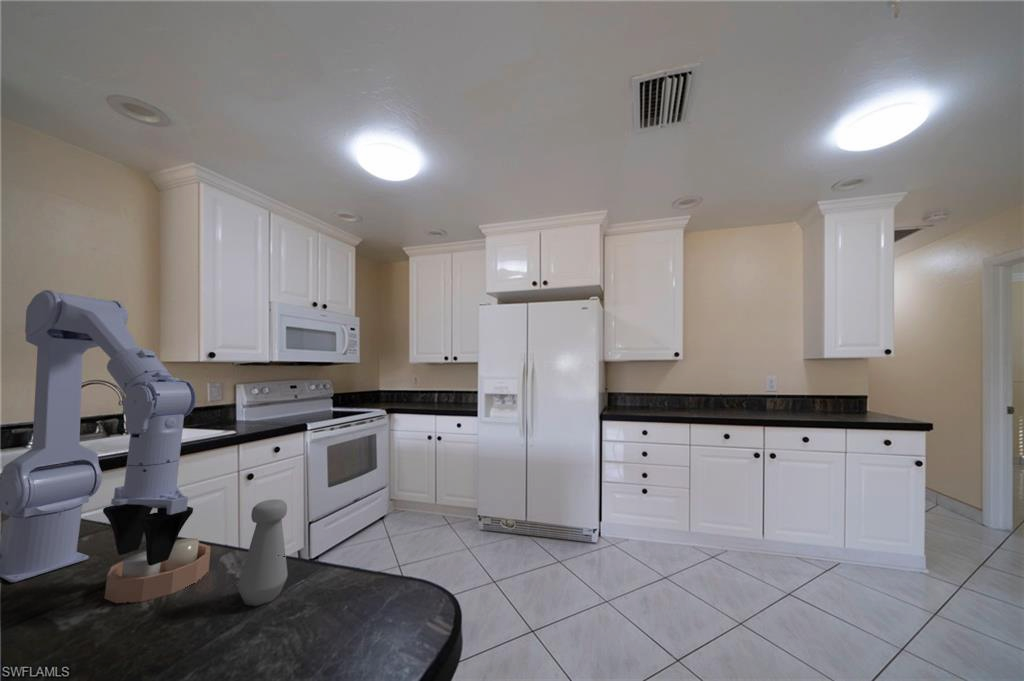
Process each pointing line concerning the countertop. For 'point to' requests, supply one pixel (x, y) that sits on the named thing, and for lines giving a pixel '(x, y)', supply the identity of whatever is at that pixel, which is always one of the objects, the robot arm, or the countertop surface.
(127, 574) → the pebble
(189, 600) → the countertop surface
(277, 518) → the salt shaker
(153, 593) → the bowl
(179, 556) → the pebble
